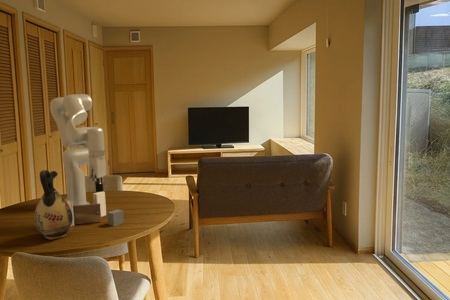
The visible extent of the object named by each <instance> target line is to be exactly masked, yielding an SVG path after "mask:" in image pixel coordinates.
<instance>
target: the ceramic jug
mask: <svg viewBox="0 0 450 300" xmlns="http://www.w3.org/2000/svg"><path fill="white" fill-rule="evenodd" d="M57 176H58V172H57V171H56V170H52V171H49V170H46V169H42V170H41V171H40V172H39V179H40V180H39V181H40V184H41V187H42V189H43V194H42V195H41V197H40V199H39V201H38V203H37V204H36V206H35V210H34V211H35V212H34V215H33V216H34V218H33V219H34V225H35V228H36V229H37V231H39V232H40V233H41V234H42V235H43V236H44V238H45V239H46V240H56V239H60V238H64V237H66V236H67V235H69V234H68V231H69V230H70V228H71V227H72V226H71V224H72V221H73V215H72V212H71V209H70V207H69V205H68V203H67V202H66V201H65V199H66V198H64V197H63V196H62V195H61V193H59V192H58V191H57V190H56V188H55V187H54V179H56V177H57Z"/></svg>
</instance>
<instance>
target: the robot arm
mask: <svg viewBox="0 0 450 300" xmlns="http://www.w3.org/2000/svg"><path fill="white" fill-rule="evenodd" d="M49 107H50V108H49V109H50V113H51V116H52V118H53V120H54V121H55V123H56V126H57V130H58V134H59V138H60V141H61V144H62V146H63V147H64V148H69V149H66V150H64V151H63V152H62V154H61V155H62V156H61V157H62V163H63V166H64V170H65V171H64V172H65V173H64V174H65V182H66V183H65V184H66V185H65V186H66V194H67V196H66V198H64V199H65V201H68V200H71V201H73V206H76V205H87V204H90V202H89V201H87V193H86V192H87V191H86V179H85V172H84V171H83V170H82V169H81V168H80V166H86V165H88V167H87V169H88V178H89V179H92V180H91V181H92V182H94V186H95V193H98V192H102V191H103V192H104V178H105V177H106V175H107V163H106V152H105V151H106V150H105V149H106V148H105V137H104V136H105V135H104V130H103V128H101V127H98V126H87V127H86V126H85V127H77V126H78V125H81V124H82V123H84V122H85V121H86V120H87V118H88V112H87V111H90V110H91V109H92V108H93V100H92V97H91V96H90V95H89V94H86V93H80V94H76V93H75V94H67V95H65V96H64V97H62V96H60V97H55V98H53V99H51V101H50V102H49Z"/></svg>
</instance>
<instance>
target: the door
mask: <svg viewBox="0 0 450 300" xmlns="http://www.w3.org/2000/svg"><path fill="white" fill-rule="evenodd" d="M73 214H74V225H78V224H81V225H82V224H89V223H98V222H99V223H100V222H102V217H101V211H100V203H98V204H94V203H89V204H87V205H76V206H73Z"/></svg>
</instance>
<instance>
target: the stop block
mask: <svg viewBox="0 0 450 300" xmlns="http://www.w3.org/2000/svg"><path fill="white" fill-rule="evenodd" d="M106 216H107V225H108V226H112V227H115V226H118V225H121V224H124V223H125V222H124V210H122V209H118V208H117V209H114V210H110V211H106Z"/></svg>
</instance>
